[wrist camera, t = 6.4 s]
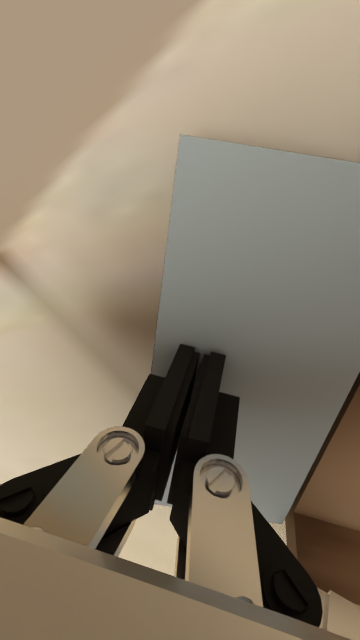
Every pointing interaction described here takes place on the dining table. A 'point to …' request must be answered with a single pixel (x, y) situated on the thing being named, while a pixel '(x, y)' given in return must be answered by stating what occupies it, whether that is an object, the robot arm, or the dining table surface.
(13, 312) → the dining table surface
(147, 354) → the dining table surface
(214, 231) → the grey flat panel
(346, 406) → the wooden tray
